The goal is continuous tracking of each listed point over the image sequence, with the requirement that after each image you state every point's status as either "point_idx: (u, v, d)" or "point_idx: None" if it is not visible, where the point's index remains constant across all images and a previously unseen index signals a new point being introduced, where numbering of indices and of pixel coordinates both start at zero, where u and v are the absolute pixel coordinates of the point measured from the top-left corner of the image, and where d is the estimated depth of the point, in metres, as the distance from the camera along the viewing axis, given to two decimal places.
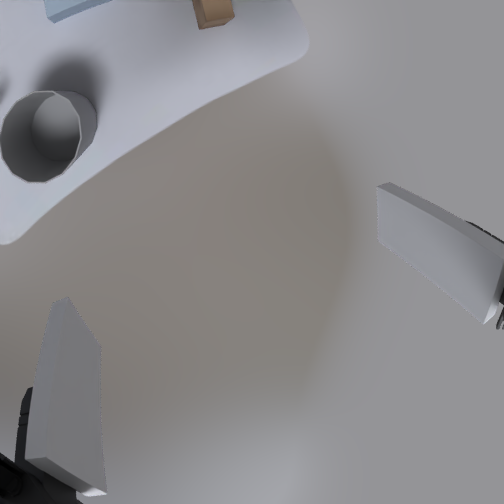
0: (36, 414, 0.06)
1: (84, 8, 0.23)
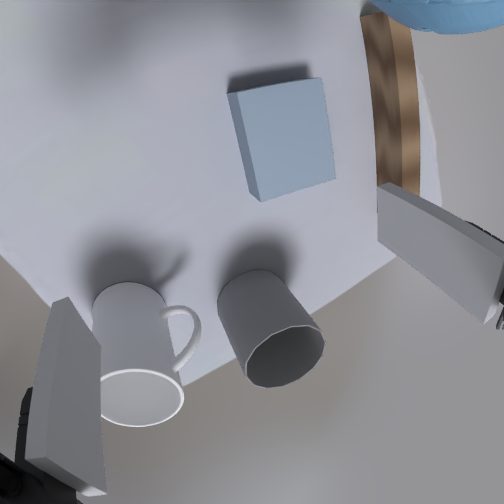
0: (36, 414, 0.06)
1: None
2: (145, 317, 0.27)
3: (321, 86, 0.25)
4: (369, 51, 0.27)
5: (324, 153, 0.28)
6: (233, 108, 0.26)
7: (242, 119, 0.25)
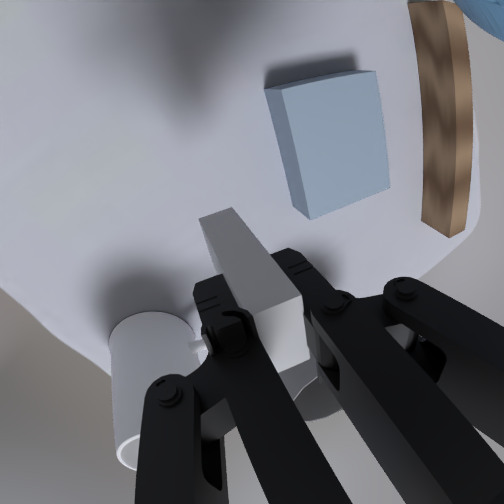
0: (242, 282, 0.09)
1: None
2: (174, 357, 0.23)
3: (375, 81, 0.20)
4: (419, 43, 0.22)
5: (378, 159, 0.23)
6: (274, 108, 0.21)
7: (288, 122, 0.20)
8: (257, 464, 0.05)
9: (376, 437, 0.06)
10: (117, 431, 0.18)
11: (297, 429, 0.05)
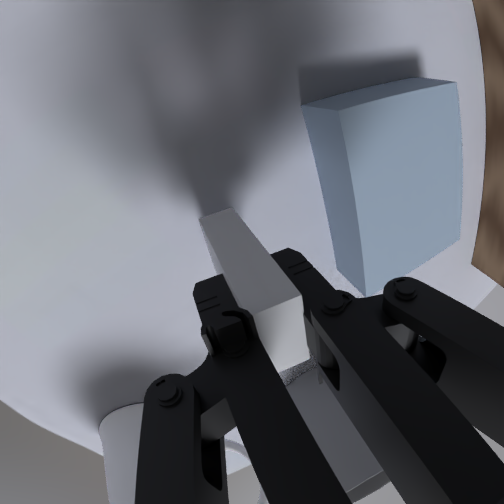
0: (241, 283, 0.09)
1: None
2: None
3: (456, 97, 0.12)
4: (487, 47, 0.14)
5: (452, 206, 0.16)
6: (319, 136, 0.14)
7: (348, 165, 0.12)
8: (257, 464, 0.05)
9: (376, 437, 0.06)
10: None
11: (297, 429, 0.05)
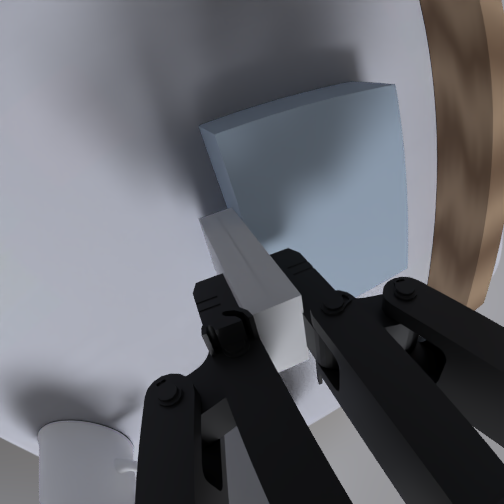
0: (242, 282, 0.09)
1: None
2: (93, 484, 0.15)
3: (395, 103, 0.12)
4: (434, 35, 0.13)
5: (394, 232, 0.15)
6: (214, 161, 0.13)
7: (234, 195, 0.11)
8: (257, 464, 0.05)
9: (376, 437, 0.06)
10: None
11: (297, 429, 0.05)
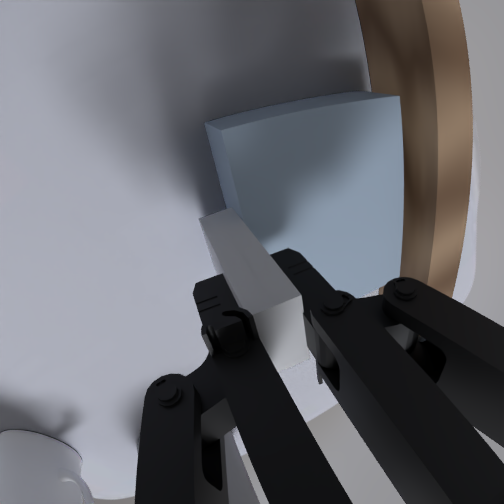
0: (242, 282, 0.09)
1: None
2: (36, 489, 0.14)
3: (398, 114, 0.12)
4: (370, 35, 0.12)
5: (388, 241, 0.15)
6: (217, 158, 0.13)
7: (236, 192, 0.11)
8: (257, 464, 0.05)
9: (376, 437, 0.06)
10: None
11: (297, 429, 0.05)
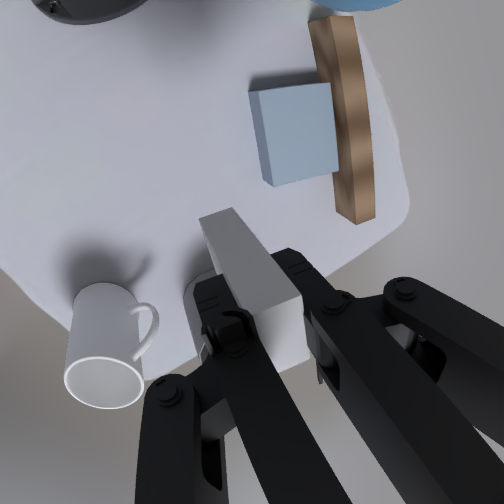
0: (242, 282, 0.09)
1: None
2: (113, 313, 0.30)
3: (329, 90, 0.29)
4: (317, 56, 0.30)
5: (329, 147, 0.32)
6: (253, 105, 0.30)
7: (262, 114, 0.29)
8: (257, 464, 0.05)
9: (376, 437, 0.06)
10: (66, 362, 0.25)
11: (297, 429, 0.05)
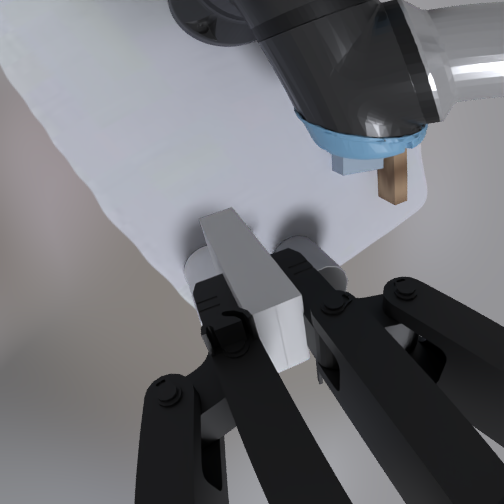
0: (241, 282, 0.09)
1: None
2: None
3: None
4: None
5: None
6: None
7: None
8: (257, 464, 0.05)
9: (376, 437, 0.06)
10: None
11: (297, 429, 0.05)
